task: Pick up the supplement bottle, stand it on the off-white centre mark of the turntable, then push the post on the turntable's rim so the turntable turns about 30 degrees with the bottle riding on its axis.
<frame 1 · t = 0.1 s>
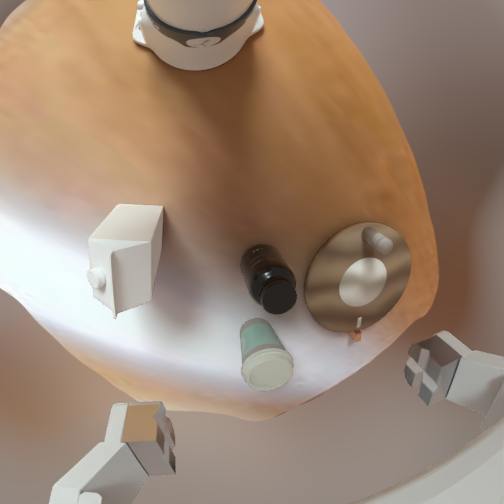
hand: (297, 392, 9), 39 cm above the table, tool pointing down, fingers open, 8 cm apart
turntable: (369, 288, 51), point 5 cm above the table, hinge at 0.0°
milk carton: (140, 226, 45), on the table
coffee cup: (255, 330, 56), on the table
supplement bottle: (260, 261, 51), on the table
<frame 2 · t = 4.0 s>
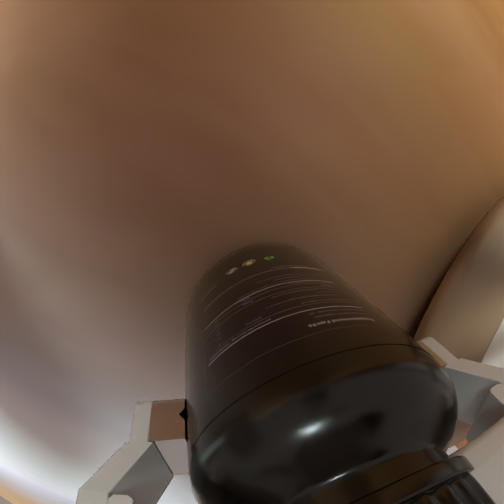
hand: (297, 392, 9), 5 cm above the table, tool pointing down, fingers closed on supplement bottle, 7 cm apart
supplement bottle: (263, 310, 14), on the table, touching gripper
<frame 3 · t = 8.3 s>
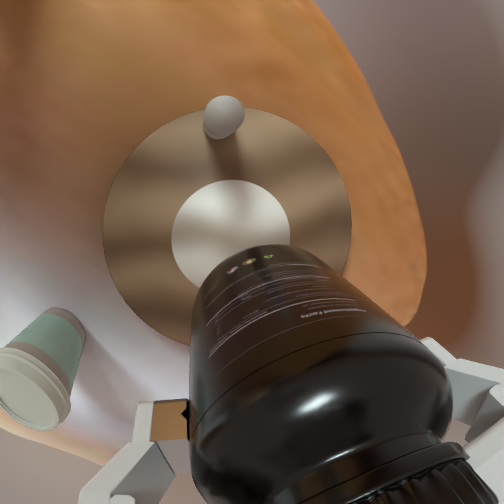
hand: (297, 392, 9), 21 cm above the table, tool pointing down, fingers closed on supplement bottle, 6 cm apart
turntable: (234, 247, 23), point 5 cm above the table, hinge at 0.0°
coffee cup: (63, 329, 28), on the table
supplement bottle: (266, 309, 14), point 15 cm above the table, touching gripper
when the fingers open (9 cm above the table, at t = 12.1 s): supplement bottle stays where it is, resting on turntable.
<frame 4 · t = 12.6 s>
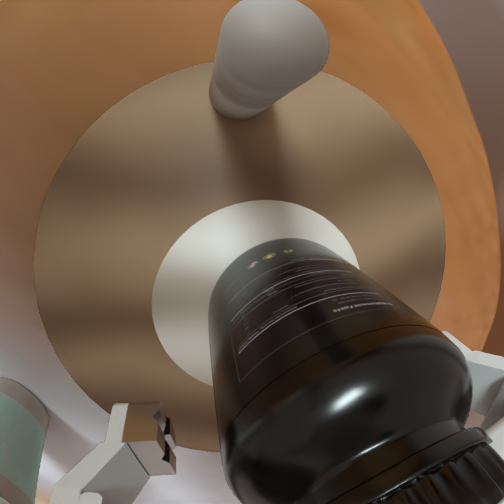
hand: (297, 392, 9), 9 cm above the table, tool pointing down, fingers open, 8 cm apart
turntable: (273, 335, 12), point 5 cm above the table, hinge at 0.0°, touching supplement bottle
coffee cup: (20, 403, 17), on the table
supplement bottle: (281, 303, 14), point 3 cm above the table, touching gripper, turntable
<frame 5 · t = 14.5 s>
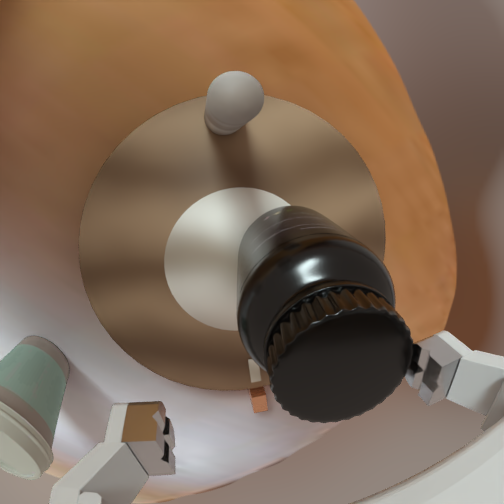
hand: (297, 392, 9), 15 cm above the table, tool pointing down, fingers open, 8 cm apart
turntable: (246, 276, 18), point 5 cm above the table, hinge at 0.0°, touching supplement bottle
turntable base: (235, 250, 23), on the table
coffee cup: (44, 359, 23), on the table
supplement bottle: (289, 253, 20), point 3 cm above the table, touching gripper, turntable
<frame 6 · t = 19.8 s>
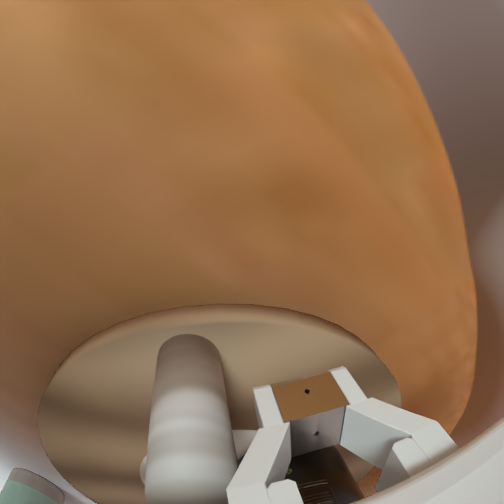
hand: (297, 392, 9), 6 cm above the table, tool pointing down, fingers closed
coffee cup: (38, 483, 17), on the table
supplement bottle: (281, 465, 14), point 3 cm above the table, touching turntable
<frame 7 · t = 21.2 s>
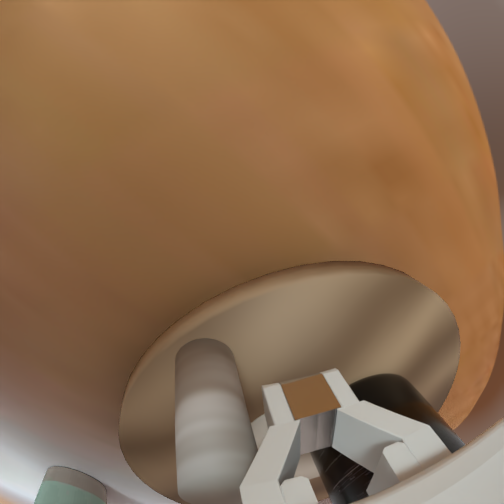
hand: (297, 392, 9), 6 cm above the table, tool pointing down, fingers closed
turntable: (325, 471, 13), point 5 cm above the table, hinge at 31.4°, touching gripper, supplement bottle
coffee cup: (76, 480, 18), on the table
supplement bottle: (356, 410, 15), point 3 cm above the table, touching turntable
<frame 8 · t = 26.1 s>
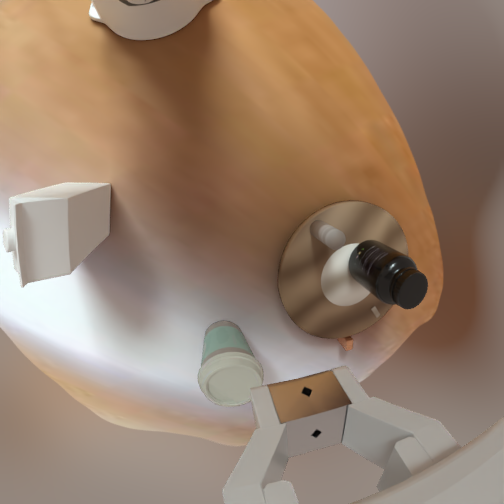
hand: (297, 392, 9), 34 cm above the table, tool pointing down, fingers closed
turntable: (358, 281, 42), point 5 cm above the table, hinge at 33.2°, touching supplement bottle
milk carton: (87, 207, 37), on the table
coffee cup: (223, 335, 47), on the table
supplement bottle: (365, 259, 44), point 3 cm above the table, touching turntable
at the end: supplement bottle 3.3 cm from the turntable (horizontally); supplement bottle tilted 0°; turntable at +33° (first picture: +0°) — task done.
